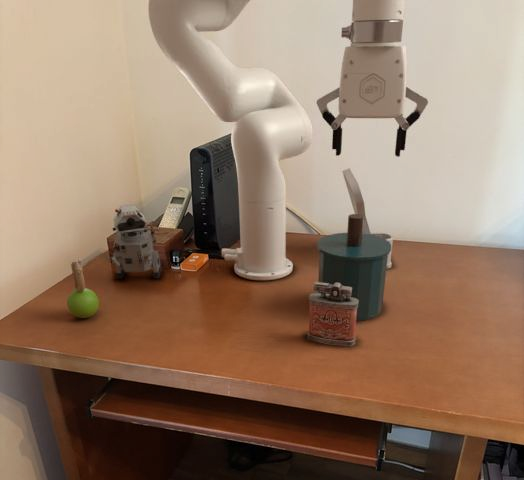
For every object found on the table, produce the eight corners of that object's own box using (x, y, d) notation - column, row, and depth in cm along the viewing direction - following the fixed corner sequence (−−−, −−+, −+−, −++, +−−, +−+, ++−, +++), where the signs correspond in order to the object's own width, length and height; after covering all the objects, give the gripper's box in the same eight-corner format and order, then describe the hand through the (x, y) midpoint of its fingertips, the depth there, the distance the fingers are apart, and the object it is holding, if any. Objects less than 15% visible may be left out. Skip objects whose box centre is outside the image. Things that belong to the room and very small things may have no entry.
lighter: (357, 338, 92) (361, 282, 86) (353, 347, 89) (357, 291, 84) (310, 331, 94) (312, 277, 89) (305, 340, 91) (306, 285, 86)
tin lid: (313, 262, 92) (315, 226, 89) (320, 237, 103) (321, 204, 100) (391, 266, 90) (395, 229, 87) (389, 240, 101) (393, 206, 98)
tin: (314, 318, 98) (317, 257, 92) (320, 291, 108) (322, 235, 102) (382, 323, 96) (388, 261, 90) (381, 295, 106) (387, 237, 100)
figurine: (110, 291, 109) (97, 217, 102) (122, 269, 119) (111, 200, 112) (155, 290, 109) (146, 216, 102) (163, 268, 119) (156, 200, 112)
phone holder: (392, 269, 117) (402, 183, 108) (345, 269, 118) (351, 184, 108) (378, 241, 132) (386, 164, 123) (336, 242, 132) (341, 165, 123)
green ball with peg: (74, 328, 96) (60, 263, 90) (67, 313, 101) (54, 252, 95) (105, 321, 98) (93, 258, 92) (97, 307, 103) (85, 246, 97)
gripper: (316, 37, 80) (313, 158, 89) (438, 34, 77) (422, 160, 86) (321, 36, 87) (317, 149, 95) (434, 34, 84) (420, 151, 92)
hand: (367, 154), depth 91 cm, fingers open, 9 cm apart
